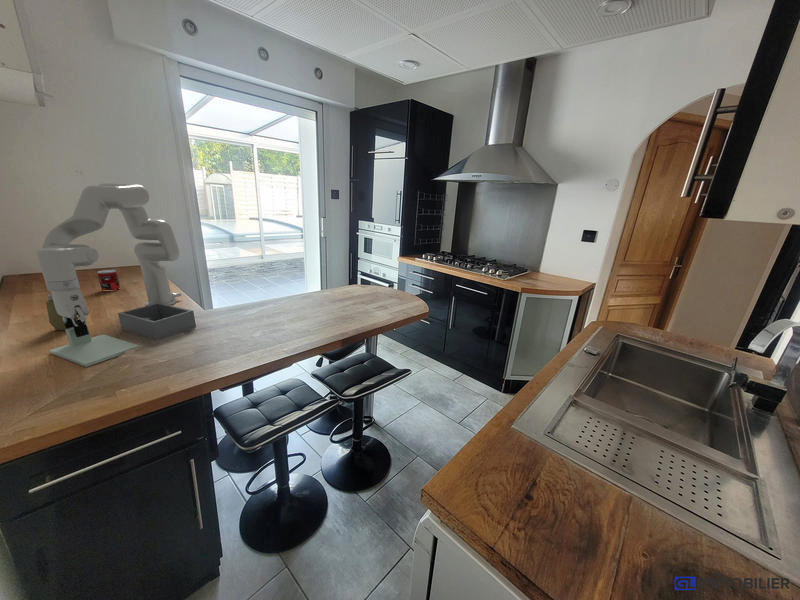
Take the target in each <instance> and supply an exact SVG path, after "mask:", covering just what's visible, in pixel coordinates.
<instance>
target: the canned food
mask: <svg viewBox="0 0 800 600" xmlns="http://www.w3.org/2000/svg"><path fill="white" fill-rule="evenodd" d="M96 274H97V278H98V281H99V285H100V288H101V291H102V290H115V289H119V288H120V289H121V285H120V280H119V276H118V273H117V270H115V269H103V270H98V271H97V273H96ZM120 289H119V290H120Z"/></svg>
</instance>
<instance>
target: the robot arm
mask: <svg viewBox="0 0 800 600" xmlns="http://www.w3.org/2000/svg"><path fill="white" fill-rule="evenodd" d="M149 201H150V193H149V191H148V190H147V189H146V187H144V186H143V185H142V184H136V183H135V184H133V183H116V182H105V183H100V184H98V185H97V184H96V185H88V186H85V188H83V190H82V191H81V195H80V197H79V199H78V201H77V203H76V207H75V209H74V212H73V214H72V215H71V216H70V217H69V218H67V219H65V220H64V221H62V222H61V223H59V224H58V225H57V226H54V227H53V228H52V229H51V230H50V231H49V232H48V233H47V235H46V237H45V239H44V241H43V243H42V247H41V248H40V249H38V250H36V253H35V254H36V256H37V257H36V258H37V261H38V264H39V267H40V270H41V273H42V276H43V279H44V282H45V286H46V290H47V292H50V294H51V293H52V298H53V302H54V305H55V308H56V311H57V313H58V314H59V315H61V316H62V318H63V322H64V323H65V324H64V325H65V328H66V329H68V328H72V327H73V328H74V331H75V334H76V337H81V336H84V335H88V334H90V331H89V332H88V330H89V328H88V329H87V327H88V325H87V322H86V320H87V316H89V314H90V312H89V311H90V310H89V309H88V306H87V304H86V303H87V302H86V299H85V298H84V295H83V293H82V291H81V289H80V288H81V286H80V282H79V279H78V275H77V271H76V268H77V267H87V266H92V265H94V264H95V263H97V261H98V260H99V252H98V250H97V249H96V248H94V247H93V246H92V245H87V244H76V243H75V244H72V242H73V241H75V240H76V239H78V238H80V237H81V236H84V235H89V234H91V233H94V232H97V231H99V230H101V229H103V227H104V226H105V223H106V221H107V217H108V214H109V212H110V210H111V209H115V210H117V209H118V210H119V211H120V212H121V214H122V216H123V218H124V221H125V224H126V225H127V228H128V231H129V232H130V234H131V236H132V237H133V238H134V239H136V240H141V241H140V242H138V243H136V244H135V245H134V248H133V249H134V250H133V251H134V254H135V257H136V259H137V260H138V263H139V265H140V270H141V273H142V279H143V284H144V287H145V292H146V296H147V301H146V302H145V303H144V305H145V306H148V305H152V304H156V303H162V304H166V305H171V306H173V304H174V305H175V303H177V300H176V298H179V297H181V296H182V292H171V287H170V283H169V278H168V273H167V272H168V271H167V268H166V266H165V265H164V264H163V262H174V261H177V260H178V259H179V257H180V248H179V245H178V242H177V239H176V237H175V234H174V231H173V228H172V226H171V225H170V223H168V222H167V221H166V220H163V219H155V218H154V219H153V218H152V219H151V218H150V217H149V215H148V214H147V211H146V209H145V207H144V206H146V205H147V204H148V203H149ZM75 315H77V316H78V317H75ZM76 319H78V320H77V321H76ZM86 325H87V326H86Z"/></svg>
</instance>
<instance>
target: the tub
mask: <svg viewBox="0 0 800 600" xmlns="http://www.w3.org/2000/svg"><path fill="white" fill-rule="evenodd" d="M117 315H118V319H119V323H120V326H121V330H122V331H126V332H129V333H132V334H135V335H139V336H142V337H146V338H149V339H152V340H156V341H159V340H162V339H165V338H168V337H170V336H173V335H176V334H179V333H181V332H184V331H187V330H190V329H194V328H196V327H197V325H196V319H195V317H196V316H195V313H194V310H192V309H187V308H183V307H180V306H174V305H166V304H162V303H156V304H152V305H148V306H141V307H136V308H133V309H129V310H125V311H121V312H118V313H117ZM144 318H152V319H153V321H152V320H148V319H144Z"/></svg>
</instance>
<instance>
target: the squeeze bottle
mask: <svg viewBox="0 0 800 600" xmlns="http://www.w3.org/2000/svg"><path fill="white" fill-rule="evenodd" d="M47 298H48V300H47V301H45V304H46V312H47V316H48V323H49V324H50V325H51V326H52V327H53V328H54V329H55V331H58V330H59V331H58V332H60V330H61V332H62V331H65V329H66V328H65V325H64V324H65V323H64V322H63V318H62V316H61V315H59V314H58V313H57V311H56V308H55V305H54V302H53V298H52V293H51V292H50V294H48V295H47ZM75 317H79V316H78V315H75ZM77 320H79V318H78V319H76V321H77Z"/></svg>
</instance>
